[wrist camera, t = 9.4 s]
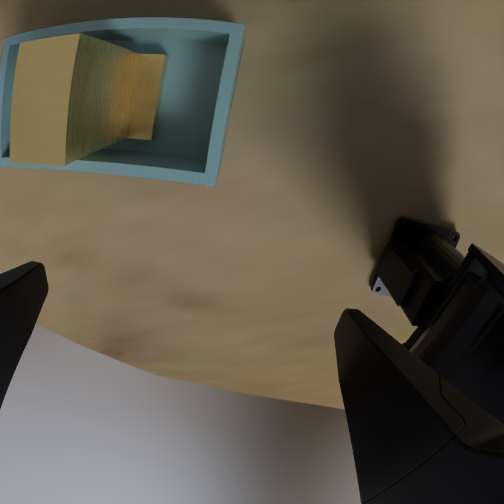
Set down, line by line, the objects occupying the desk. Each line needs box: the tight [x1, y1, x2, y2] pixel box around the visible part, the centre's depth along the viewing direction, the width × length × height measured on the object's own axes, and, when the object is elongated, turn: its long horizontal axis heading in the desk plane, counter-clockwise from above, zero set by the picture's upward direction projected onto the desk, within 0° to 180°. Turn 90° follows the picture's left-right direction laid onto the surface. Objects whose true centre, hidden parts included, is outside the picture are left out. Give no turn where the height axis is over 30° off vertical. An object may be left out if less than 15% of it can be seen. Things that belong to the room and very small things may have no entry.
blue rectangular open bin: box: [0, 17, 246, 187], centre depth 14 cm, size 14×8×4 cm, turn 79°
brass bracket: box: [10, 33, 169, 166], centre depth 12 cm, size 6×5×8 cm
